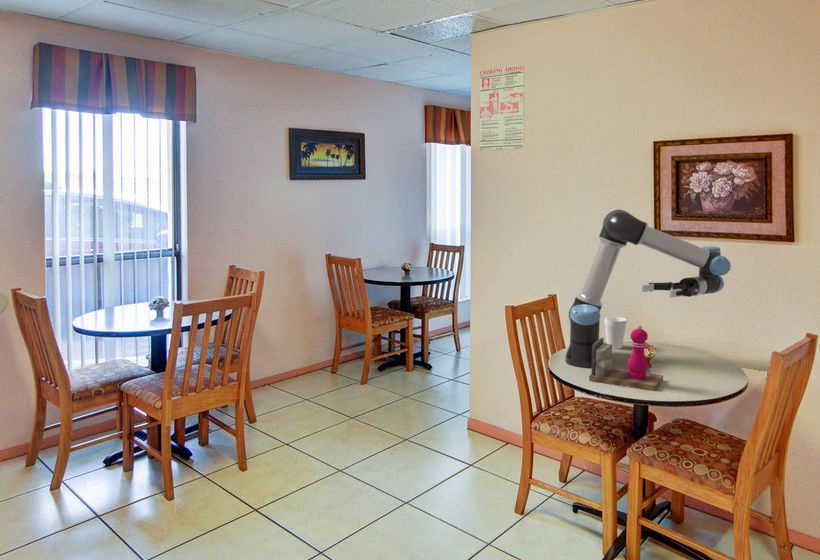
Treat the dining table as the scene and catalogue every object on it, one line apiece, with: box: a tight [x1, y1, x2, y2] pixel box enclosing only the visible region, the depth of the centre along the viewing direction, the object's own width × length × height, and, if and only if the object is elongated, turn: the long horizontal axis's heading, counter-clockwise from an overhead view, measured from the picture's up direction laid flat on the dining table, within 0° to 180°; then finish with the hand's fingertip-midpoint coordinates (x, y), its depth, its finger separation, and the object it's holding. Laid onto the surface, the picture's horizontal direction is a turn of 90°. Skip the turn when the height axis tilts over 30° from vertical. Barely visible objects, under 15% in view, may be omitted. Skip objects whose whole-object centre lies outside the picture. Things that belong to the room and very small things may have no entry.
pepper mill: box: [627, 324, 649, 379], centre depth 237 cm, size 7×7×20 cm
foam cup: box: [604, 316, 628, 350], centre depth 287 cm, size 10×9×13 cm
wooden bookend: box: [588, 337, 664, 392], centre depth 240 cm, size 24×14×14 cm, turn 58°
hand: (655, 291), depth 249 cm, fingers open, 13 cm apart
